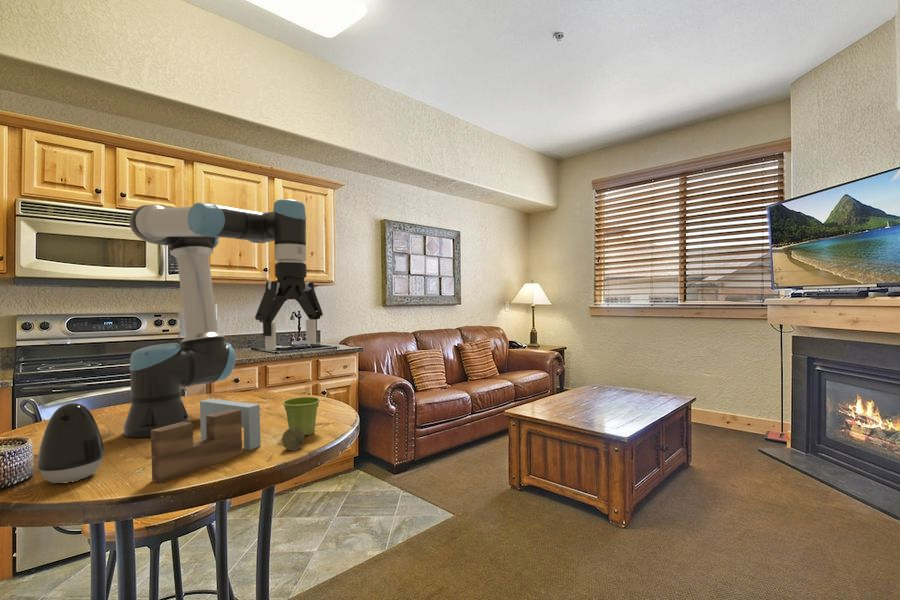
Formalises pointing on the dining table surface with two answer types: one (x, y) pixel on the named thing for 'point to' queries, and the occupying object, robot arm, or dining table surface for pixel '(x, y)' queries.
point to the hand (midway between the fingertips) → (292, 346)
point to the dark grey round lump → (293, 439)
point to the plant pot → (302, 413)
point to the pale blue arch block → (248, 418)
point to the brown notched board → (195, 445)
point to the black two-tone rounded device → (70, 445)
